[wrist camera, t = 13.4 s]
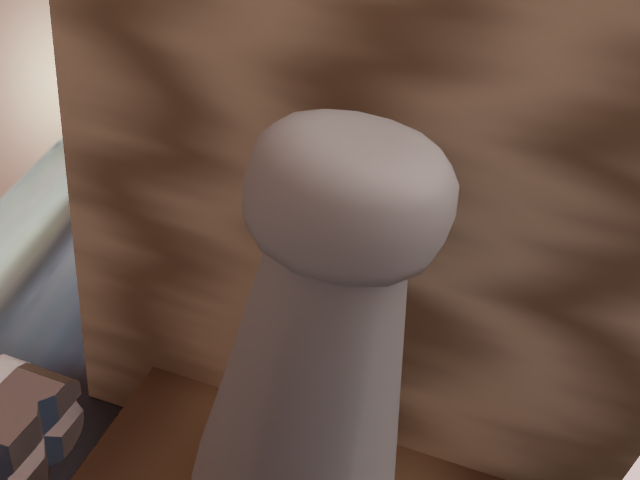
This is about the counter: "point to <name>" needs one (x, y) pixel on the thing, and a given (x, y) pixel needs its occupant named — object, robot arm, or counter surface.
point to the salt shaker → (327, 297)
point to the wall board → (465, 234)
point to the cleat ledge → (199, 437)
